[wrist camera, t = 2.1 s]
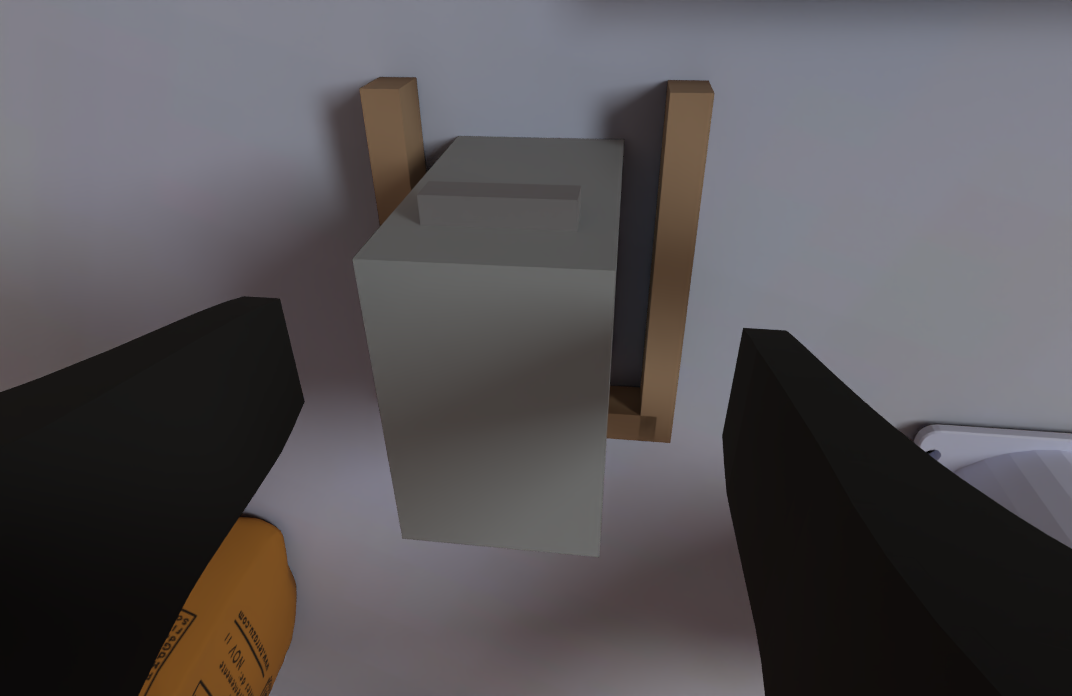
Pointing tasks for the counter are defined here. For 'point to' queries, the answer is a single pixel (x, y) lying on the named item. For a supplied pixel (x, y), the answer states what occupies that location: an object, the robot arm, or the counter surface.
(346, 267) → the counter surface
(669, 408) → the bay
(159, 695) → the coffee package
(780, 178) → the counter surface
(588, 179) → the grey box
